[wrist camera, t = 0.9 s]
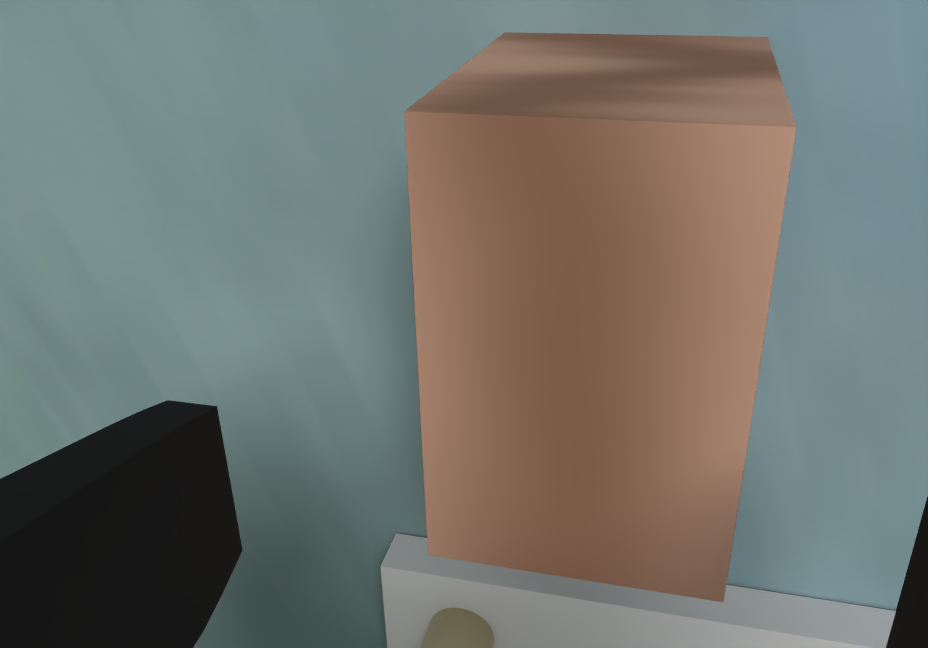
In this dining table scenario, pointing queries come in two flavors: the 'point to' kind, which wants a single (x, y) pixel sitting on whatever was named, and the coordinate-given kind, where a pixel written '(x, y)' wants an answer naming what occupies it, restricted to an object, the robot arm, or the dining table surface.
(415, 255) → the board block
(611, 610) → the standoff plate
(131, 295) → the dining table surface
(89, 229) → the dining table surface
